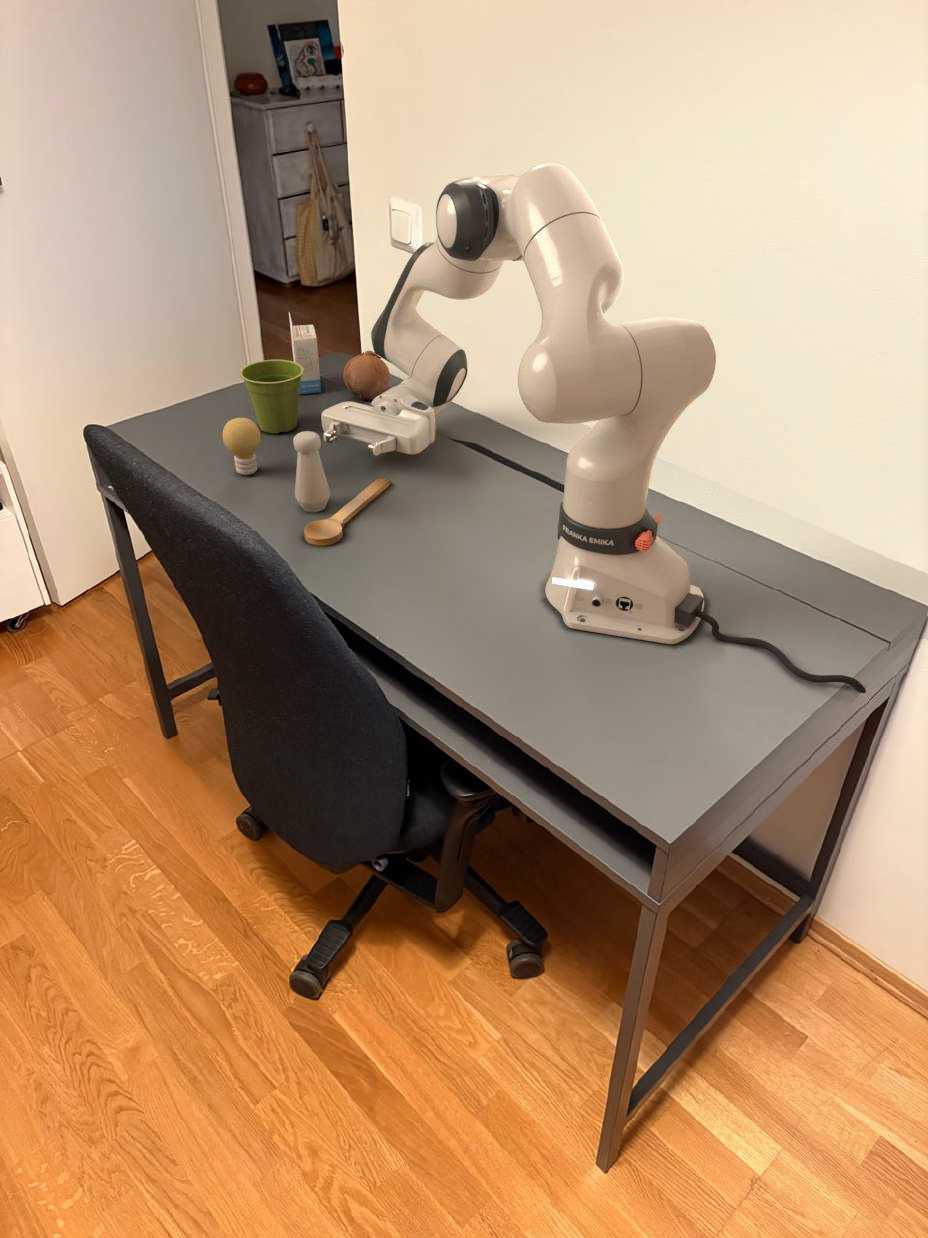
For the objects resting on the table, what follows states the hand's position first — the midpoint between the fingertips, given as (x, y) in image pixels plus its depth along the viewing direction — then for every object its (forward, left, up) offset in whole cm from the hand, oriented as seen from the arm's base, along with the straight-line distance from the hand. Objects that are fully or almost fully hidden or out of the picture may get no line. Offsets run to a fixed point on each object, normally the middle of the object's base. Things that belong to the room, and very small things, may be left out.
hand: (349, 444), depth 155 cm
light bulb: (+18, +6, -7) cm, 20 cm away
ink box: (+30, -31, -7) cm, 44 cm away
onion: (+16, -32, -7) cm, 37 cm away
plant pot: (+24, -12, -7) cm, 28 cm away
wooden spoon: (-6, +10, -7) cm, 13 cm away
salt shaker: (+1, +11, -7) cm, 13 cm away
